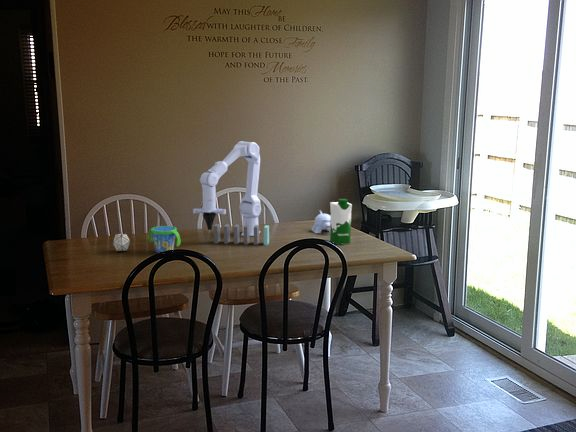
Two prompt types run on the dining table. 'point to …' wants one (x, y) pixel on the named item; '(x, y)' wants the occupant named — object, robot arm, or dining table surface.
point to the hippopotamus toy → (321, 223)
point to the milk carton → (340, 221)
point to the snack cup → (164, 238)
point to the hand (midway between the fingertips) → (209, 229)
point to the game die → (121, 242)
